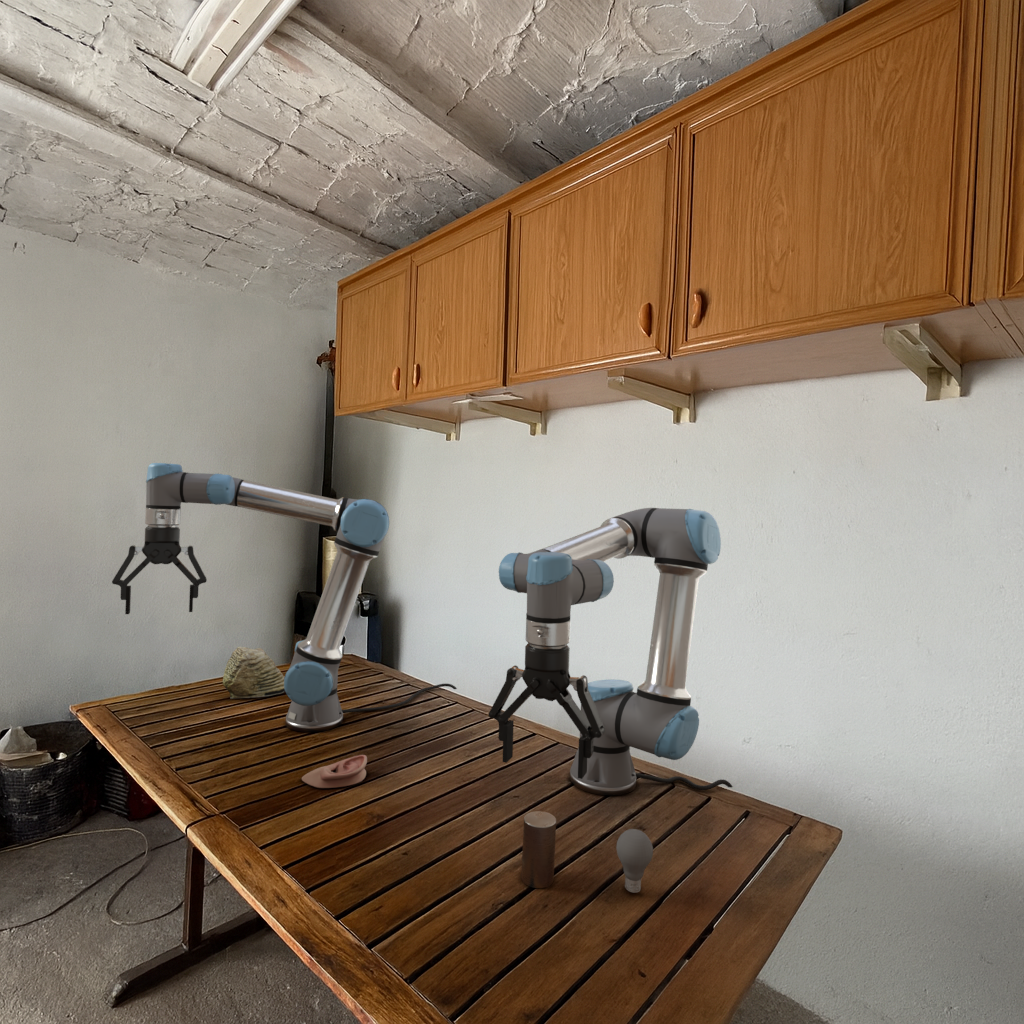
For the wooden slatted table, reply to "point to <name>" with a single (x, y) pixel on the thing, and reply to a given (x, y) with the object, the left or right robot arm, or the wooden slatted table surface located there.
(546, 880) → the can
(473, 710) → the wooden slatted table surface
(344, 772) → the anatomical model
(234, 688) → the fossil
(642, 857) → the light bulb
